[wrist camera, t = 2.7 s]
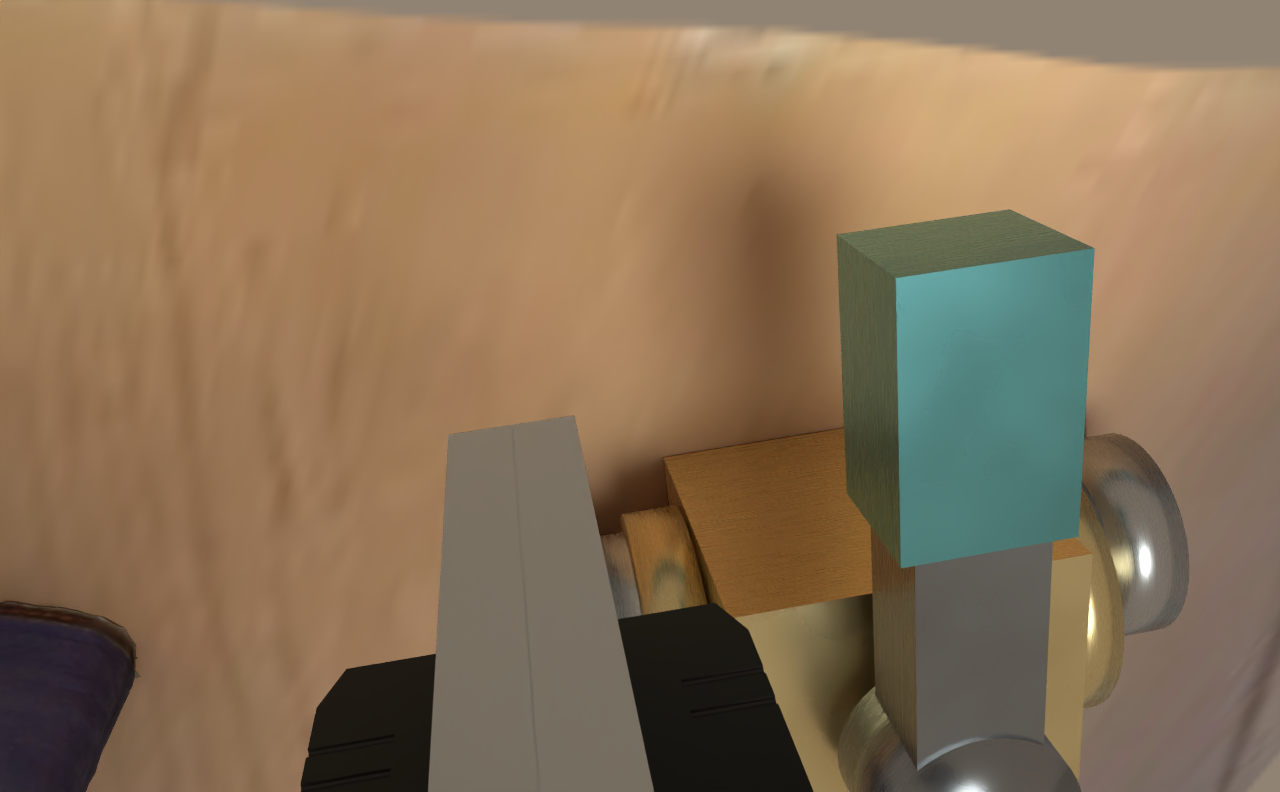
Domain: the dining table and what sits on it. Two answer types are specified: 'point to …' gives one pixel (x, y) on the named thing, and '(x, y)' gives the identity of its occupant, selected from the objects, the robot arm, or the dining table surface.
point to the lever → (962, 491)
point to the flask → (58, 695)
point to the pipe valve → (842, 576)
